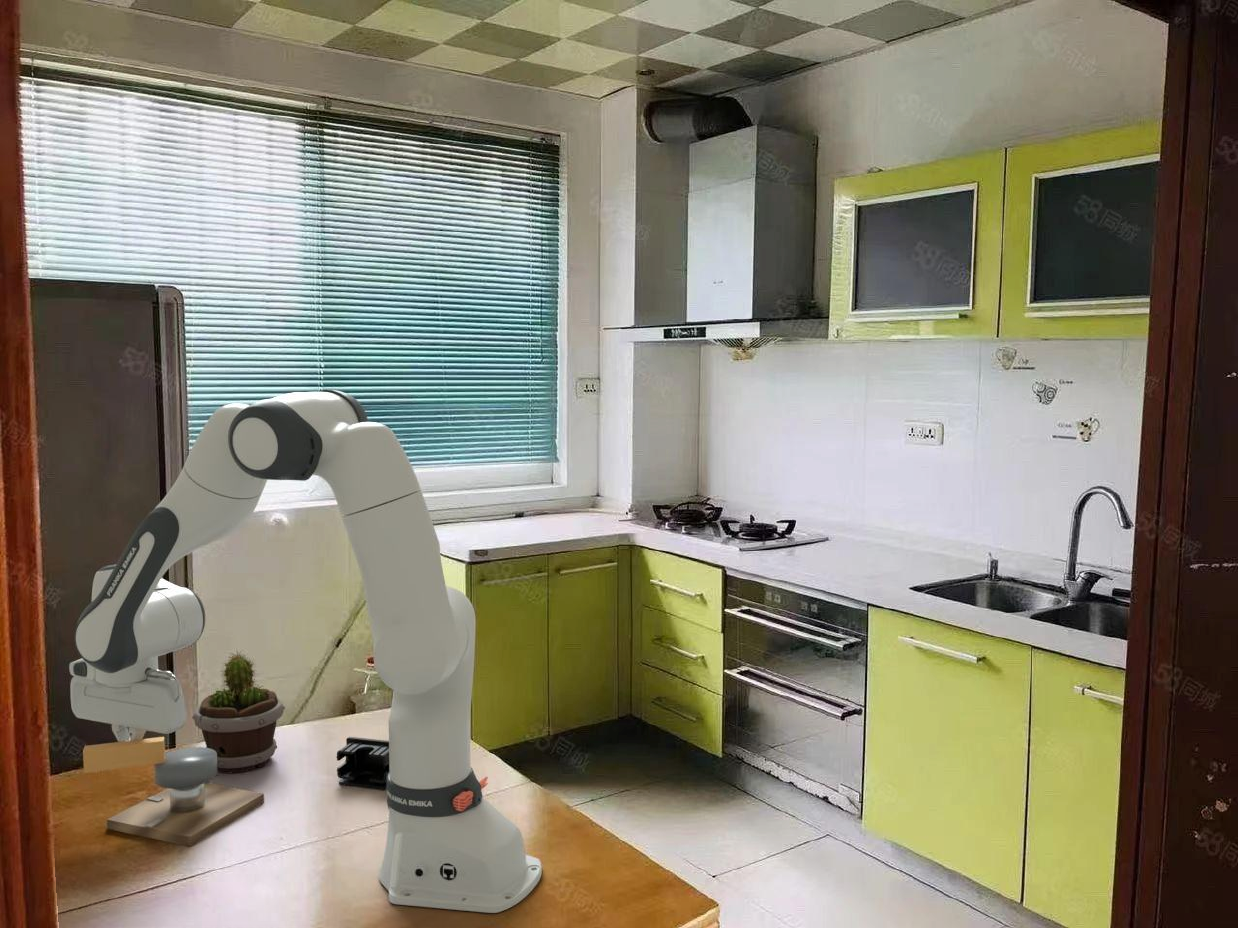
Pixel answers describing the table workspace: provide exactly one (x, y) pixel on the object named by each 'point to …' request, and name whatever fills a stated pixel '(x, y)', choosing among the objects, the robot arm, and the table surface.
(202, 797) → the short grey cylinder
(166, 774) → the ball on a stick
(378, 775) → the black slotted holder
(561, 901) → the table surface
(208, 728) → the flowerpot
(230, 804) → the base plate
